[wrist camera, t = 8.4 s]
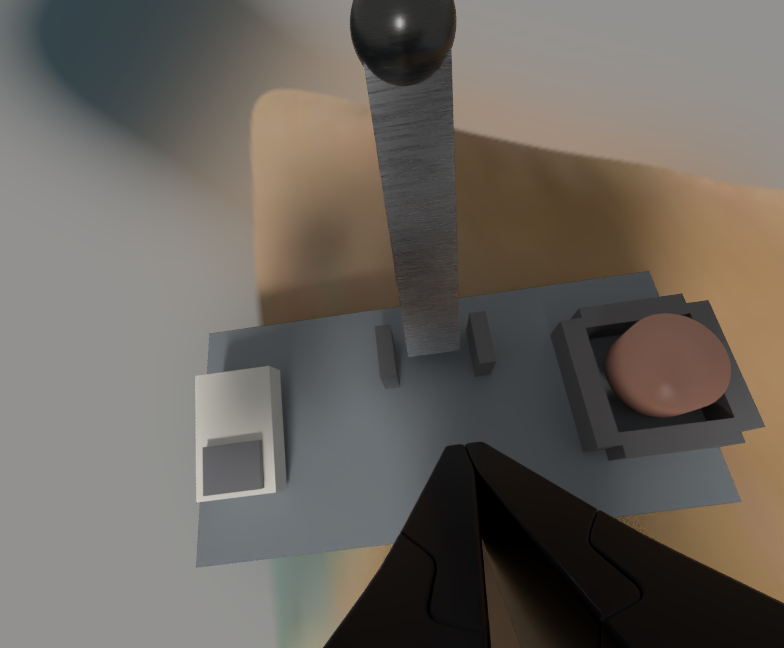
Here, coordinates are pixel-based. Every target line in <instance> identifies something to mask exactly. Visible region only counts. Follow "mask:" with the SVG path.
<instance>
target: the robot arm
mask: <svg viewBox="0 0 784 648" xmlns="http://www.w3.org/2000/svg"><path fill="white" fill-rule="evenodd" d="M482 543H483V546H484V549H485V552H486V555H487V557H488V560H489V562H490V565H491V568H492V570H493V573H494V576H495V578H496V581H497V584H498V586H499V589H500V592H501V594H502V597H503V600H504V602H505V605H506V608H507V610H508V613H509V616H510V618H511V621H512V624H513V626H514V629H515V632H516V634H517V637H518V640H519V642H520V645H521V648H784V603H782V602H780V601H778V600H776V599H774V598H772V597H770V596H768V595H766V594H764V593H762V592H760V591H758V590H755V589H753V588H751V587H749V586H747V585H745V584H743V583H741V582H739V581H737V580H735V579H733V578H731V577H729V576H727V575H724V574H722V573H720V572H718V571H716V570H714V569H712V568H710V567H708V566H706V565H704V564H702V563H700V562H698V561H696V560H694V559H691V558H689V557H687V556H685V555H683V554H681V553H679V552H677V551H675V550H673V549H671V548H669V547H667V546H665V545H663V544H661V543H659V542H657V541H655V540H653V539H652V538H650V537H648V536H646V535H644V534H642V533H640V532H638V531H637V530H635V529H633V528H631V527H629V526H628V525H626V524H624V523H622V522H620V521H619V520H617V519H615V518H613V517H612V516H610V515H608V514H607V513H605V512H603V511H601V510H599V511H598V510H597V508H595V507H593V506H592V505H590V504H588V503H587V502H585V501H583V500H581V499H580V498H578V497H576V496H575V495H573V494H571V493H570V492H568V491H566V490H564V489H563V488H561V487H559V486H558V485H556V484H554V483H553V482H551V481H549V480H547V479H546V478H544V477H542V476H541V475H539V474H537V473H536V472H534V471H532V470H530V469H529V468H527V467H525V466H524V465H522V464H520V463H519V462H517V461H515V460H513V459H512V458H510V457H508V456H507V455H505V454H503V453H502V452H500V451H498V450H496V449H495V448H493V447H491V446H490V445H488V444H486V443H485V442H482V441H480V442H472V443H467V444H465V446H464V445H463V444H456V445H448V446H446V447H445V448H444V450H443V452H442V454H441V456H440V458H439V460H438V462H437V464H436V465H435V467H434V469H433V471H432V473H431V475H430V477H429V479H428V481H427V483H426V484H425V486H424V488H423V490H422V492H421V494H420V496H419V498H418V500H417V502H416V504H415V505H414V507H413V509H412V511H411V513H410V515H409V517H408V519H407V521H406V523H405V524H404V526H403V528H402V530H401V532H400V534H399V535H398V537H397V538H396V540H395V542H394V544H393V546H392V548H391V550H390V552H389V553H388V555H387V557H386V558H385V560H384V562H383V564H382V565H381V567H380V569H379V570H378V572H377V573H376V574H375V576H374V577H373V579H372V580H371V582H370V583H369V585H368V586H367V588H366V589H365V591H364V592H363V593H362V595H361V596H360V598H359V599H358V600H357V602H356V603H355V604H354V606H353V607H352V609H351V610H350V611H349V613H348V614H347V615H346V617H345V618H344V620H343V621H342V622H341V624H340V625H339V626H338V628H337V629H336V631H335V632H334V633H333V635H332V636H331V637H330V639H329V640H328V642H327V643H326V644H325V646H324V647H323V648H491V639H490V628H489V617H488V606H487V594H486V583H485V572H484V561H483V550H482Z"/></svg>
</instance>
